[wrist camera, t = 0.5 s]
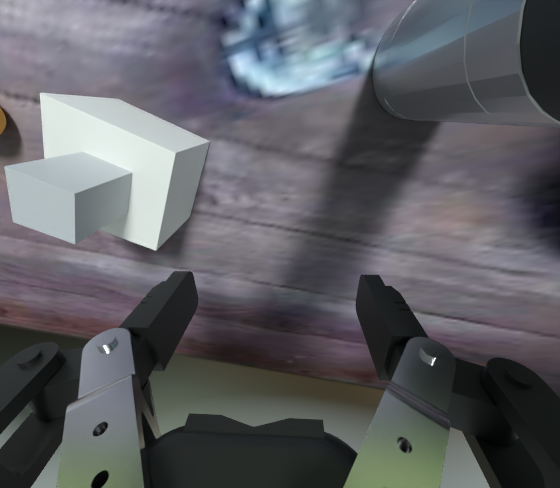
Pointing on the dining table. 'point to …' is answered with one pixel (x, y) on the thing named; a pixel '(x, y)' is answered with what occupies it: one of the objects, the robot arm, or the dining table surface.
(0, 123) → the ball
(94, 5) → the dining table surface
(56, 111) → the white grey stepped block
